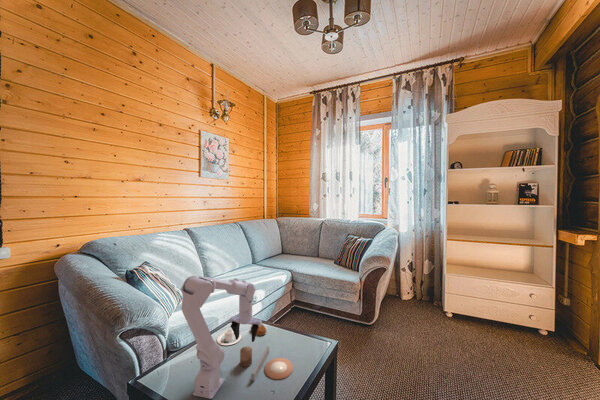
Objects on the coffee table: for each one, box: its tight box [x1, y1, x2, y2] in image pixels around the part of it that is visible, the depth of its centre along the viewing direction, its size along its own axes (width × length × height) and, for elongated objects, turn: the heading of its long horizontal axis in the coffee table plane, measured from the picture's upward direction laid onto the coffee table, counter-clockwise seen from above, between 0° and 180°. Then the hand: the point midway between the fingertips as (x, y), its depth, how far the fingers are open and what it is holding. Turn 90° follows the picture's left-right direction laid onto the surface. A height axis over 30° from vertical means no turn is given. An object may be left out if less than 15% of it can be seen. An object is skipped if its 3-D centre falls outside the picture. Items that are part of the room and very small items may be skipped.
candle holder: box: [216, 328, 242, 346], centre depth 126 cm, size 12×12×4 cm
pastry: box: [250, 323, 267, 336], centre depth 133 cm, size 9×7×4 cm
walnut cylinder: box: [239, 345, 253, 368], centre depth 108 cm, size 5×5×6 cm
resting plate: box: [264, 357, 294, 380], centre depth 105 cm, size 12×12×1 cm
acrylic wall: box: [251, 345, 270, 382], centre depth 106 cm, size 18×1×3 cm, turn 168°
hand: (245, 339), depth 110 cm, fingers open, 7 cm apart
